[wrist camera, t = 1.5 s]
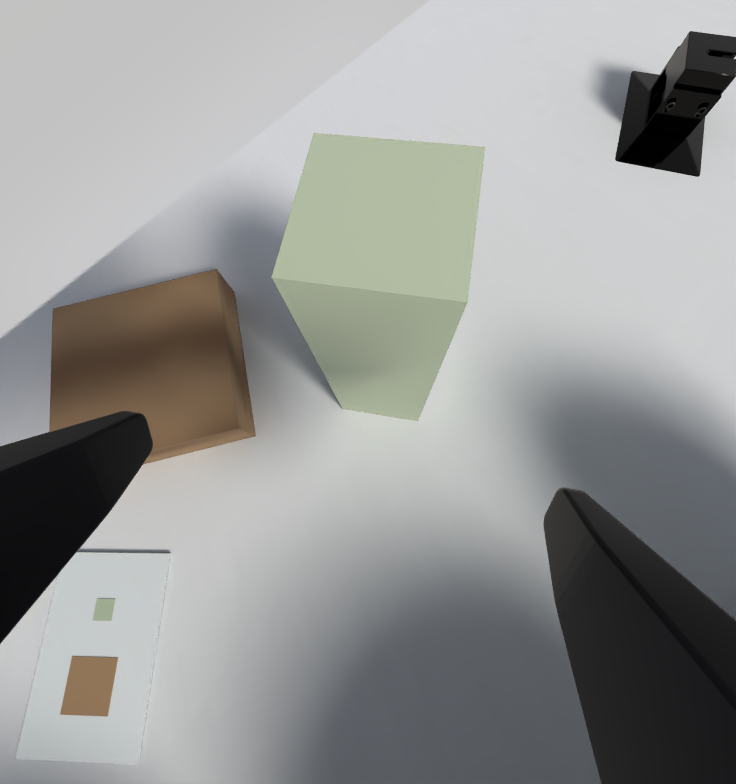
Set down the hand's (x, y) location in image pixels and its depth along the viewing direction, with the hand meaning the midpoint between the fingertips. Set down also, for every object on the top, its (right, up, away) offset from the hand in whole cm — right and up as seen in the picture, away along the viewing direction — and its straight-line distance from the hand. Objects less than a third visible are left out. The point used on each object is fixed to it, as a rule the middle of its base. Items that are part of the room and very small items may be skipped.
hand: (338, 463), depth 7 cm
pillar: (+2, +2, +13) cm, 14 cm away
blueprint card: (-13, -12, +10) cm, 20 cm away
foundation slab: (-12, +2, +14) cm, 19 cm away
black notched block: (+22, +21, +19) cm, 36 cm away
